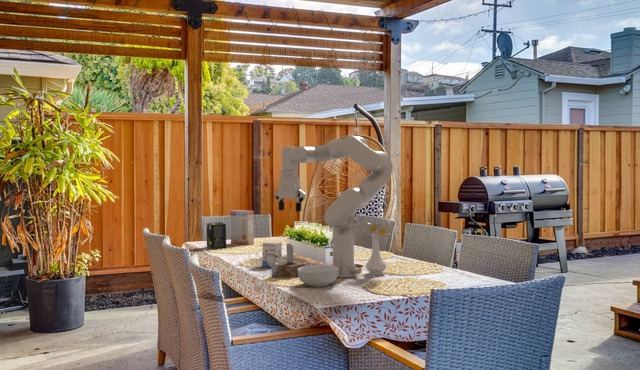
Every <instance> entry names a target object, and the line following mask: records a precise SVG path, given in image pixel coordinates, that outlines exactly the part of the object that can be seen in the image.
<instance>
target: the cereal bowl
mask: <svg viewBox="0 0 640 370" xmlns="http://www.w3.org/2000/svg"><path fill="white" fill-rule="evenodd" d="M297 278H298V279H299V281H300V282H302V283H303V284H306V285H308V286H309V285H310V286H309V287H311V286H315V287H314V288H322V287H323V286H324V287H327V286H329V284H332V283H334V282H335V281H336V280H337V279H338V278H339V277H338V267H336V266H333V265H327V264H314V265H313V264H312V265H304V266H303V267H300V268H298V277H297ZM320 286H321V287H320Z"/></svg>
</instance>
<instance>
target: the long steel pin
mask: <svg viewBox="0 0 640 370" xmlns="http://www.w3.org/2000/svg"><path fill="white" fill-rule="evenodd" d="M294 253H295V252H294V243H287V244H286V262H287V265H294V263H295V261H294V259H295V258H294Z"/></svg>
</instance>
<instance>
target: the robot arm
mask: <svg viewBox="0 0 640 370" xmlns="http://www.w3.org/2000/svg"><path fill="white" fill-rule="evenodd" d="M346 158H350V159H351V160H352V161H354V162H355V163H357V164H358V165H359V166H361V167H362V168H363V169H365V170H366V171H369V172H370V173H369V174H368V175H366V176H365V177H364V178H363V179H362V180H361V182H360V183H358V184H357V185H356V186H355V187H351V188H348V189H346V190H344V191H343V192H342V193H341V194H340V195H339V196H338V197H337V198H336V199H335V200H334V201H333V202H332V203H331V204H330V205H329V206H328V208H326V211H325V213H324V222H325V223H326V224H327V226H329V227H330V228H332V266H336V267H338V277H337V278H353V277H354V278H355V277H357V276H358V275H359V274H360V273H361V271H362V268H360V267H357V265H356V264H355V224H356V211H357V210H358V211H359V210H361V209H363V208H365V207H366V206H367V205H368V204H369V203H370V202H371V200H373V198H375V196H377V194H378V193H379V192H380V191H381V190H382V189H383V188H384V187H385V185H387V183H388V182H389V180H390V179H391V178H392V177H391V176H392V173H393V168H394V167H393V161H392V159H391V157H390V156H389V154H388V153H386V152H384V151H380V150H373V149H372V148H370V147H369V146H368V143H367V140H366V139H365V138H364V137H362V136H357V135H348V136H346V137H345V138H339V139H332V140H330V141H329V142H328V143H324V144H321V145H313V146H310V145H309V146H285V147H284V146H283V147H282V149H281V170H280V172H279V173H280V175H281V176H280V177H279V180H278V181H279V182H278V189H277V190H275V191H274V192H273V193H274V197H275V199H276V200H277V202H278V211H280V212H281V211H284V210H285V201H284V200H285V199H290V200H291V199H294V200H295V201H296V203H295V211H296V212H297V213H299V212H301V211H302V203H303V201H304V200H305V197H306V196H307V193H306V192H305V191H303V190H302V189H301V188H302V187H301V179H300V177H299V163H300V164H307V163H309V164H312V163H318V162H326V161H330V160H331V161H335V160H338V159H346Z"/></svg>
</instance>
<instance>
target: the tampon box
mask: <svg viewBox="0 0 640 370" xmlns="http://www.w3.org/2000/svg"><path fill="white" fill-rule="evenodd" d="M206 248H208V249H210V250H219V249H218V248H224V249H227V224H226V223H225V222H221V221H220V222H218V221H217V222H207V223H206Z"/></svg>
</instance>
